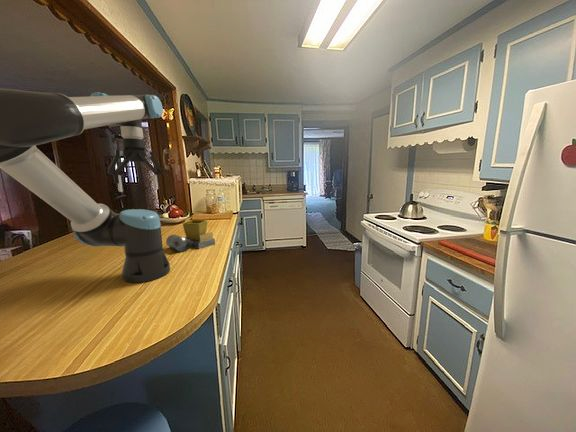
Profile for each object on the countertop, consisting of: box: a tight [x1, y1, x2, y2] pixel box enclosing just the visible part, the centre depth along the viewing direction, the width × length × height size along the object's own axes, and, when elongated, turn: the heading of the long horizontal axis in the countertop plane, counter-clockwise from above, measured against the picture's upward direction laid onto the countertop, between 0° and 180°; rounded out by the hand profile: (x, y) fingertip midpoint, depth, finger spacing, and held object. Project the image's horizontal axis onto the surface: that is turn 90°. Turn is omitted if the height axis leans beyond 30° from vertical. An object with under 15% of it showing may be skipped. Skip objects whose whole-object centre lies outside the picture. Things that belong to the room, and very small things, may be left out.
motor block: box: [165, 231, 216, 253], centre depth 116 cm, size 14×19×6 cm
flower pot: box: [182, 219, 208, 240], centre depth 118 cm, size 9×9×9 cm
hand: (139, 190), depth 100 cm, fingers open, 13 cm apart
